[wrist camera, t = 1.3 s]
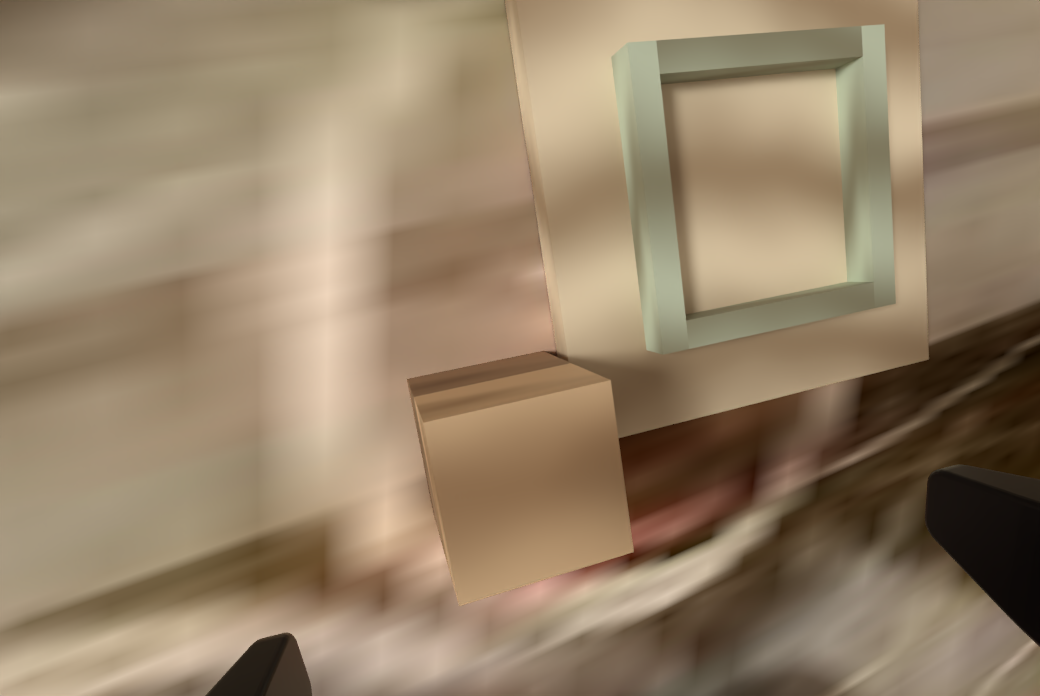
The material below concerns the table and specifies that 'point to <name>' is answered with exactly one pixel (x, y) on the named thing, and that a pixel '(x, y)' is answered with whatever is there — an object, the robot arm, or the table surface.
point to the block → (521, 471)
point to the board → (725, 194)
